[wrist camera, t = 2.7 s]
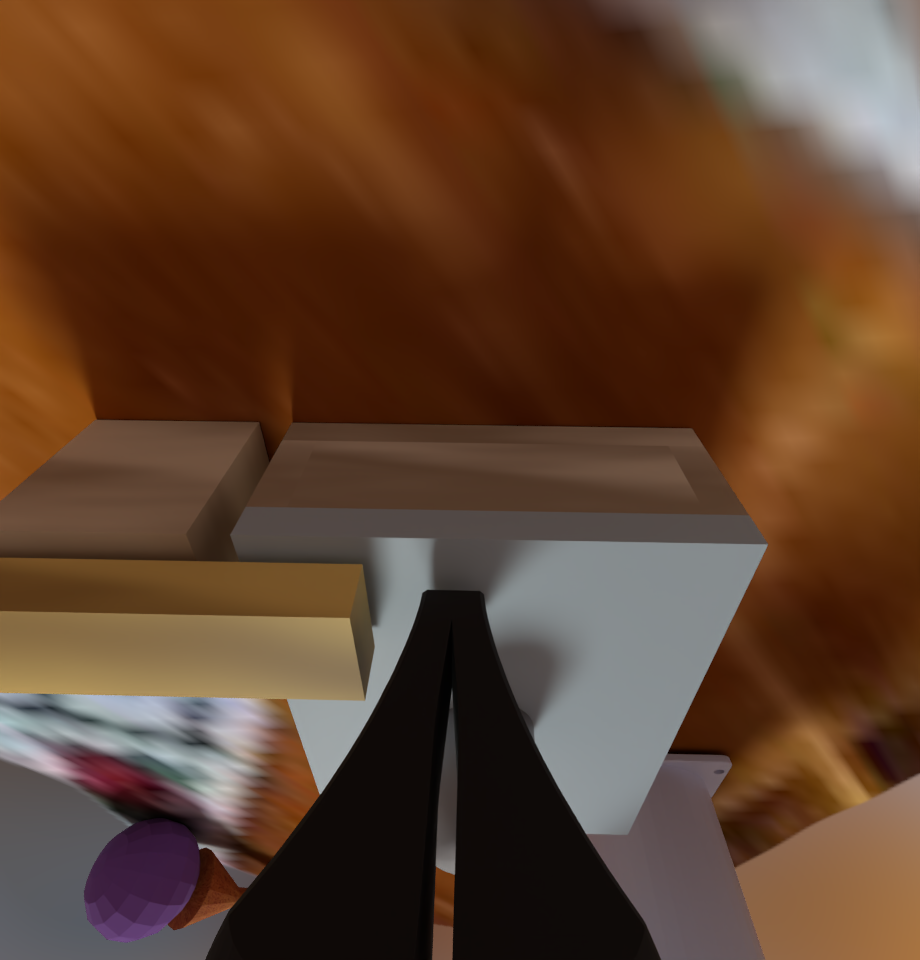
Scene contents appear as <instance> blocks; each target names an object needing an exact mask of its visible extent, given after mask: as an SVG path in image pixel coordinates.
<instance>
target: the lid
mask: <svg viewBox="0 0 920 960" xmlns="http://www.w3.org/2000/svg"><path fill="white" fill-rule="evenodd" d="M230 536H231V539H232V542H233V545H234V548H235V550H236V553H237V556H238V559H239V562H268V563H322V564H362V565H363V571H364V578H365V585H366V591H367V598H368V605H369V611H370V618H371V624H372V631H373V638H374V644H375V649H374V654H373V660H372V665H371V671H370V676H369V682H368V687H367V693H366V699H365V701H352V700H307V699H287V701H288V704H289V706H290V709H291V712H292V715H293V718H294V721H295V724H296V727H297V730H298V732H299V735H300V738H301V741H302V744H303V747H304V750H305V753H306V756H307V759H308V761H309V764H310V767H311V770H312V773H313V776H314V779H315V782H316V785H317V787H318V790H319V793H320V794H321V793H322V791H323V790H324V789H325V787H326V786H327V784H328V783H329V781H330V780H331V778H332V777H333V775H334V774H335V772H336V771H337V769H338V768H339V766H340V765H341V763H342V762H343V760H344V759H345V757H346V756H347V754H348V752H349V751H350V749H351V747H352V746H353V744H354V743H355V741H356V739H357V738H358V736H359V734H360V733H361V731H362V729H363V728H364V726H365V724H366V722H367V721H368V719H369V717H370V715H371V714H372V712H373V710H374V708H375V706H376V704H377V702H378V700H379V699H380V697H381V695H382V693H383V691H384V689H385V687H386V685H387V683H388V681H389V679H390V677H391V675H392V673H393V671H394V669H395V667H396V664H397V662H398V660H399V658H400V655H401V653H402V651H403V649H404V646H405V644H406V642H407V639H408V637H409V634H410V632H411V629H412V626H413V624H414V621H415V618H416V615H417V612H418V608H419V605H420V601H421V597H422V593H423V592H424V591H426V590H467V591H481V592H482V593H483V594H484V597H485V605H486V611H487V616H488V620H489V624H490V628H491V632H492V635H493V639H494V642H495V645H496V648H497V652H498V655H499V657H500V660H501V663H502V666H503V668H504V671H505V674H506V677H507V680H508V682H509V685H510V687H511V690H512V692H513V695H514V697H515V699H516V702H517V704H518V706H519V709H520V711H521V713H522V716H523V718H524V720H525V722H526V724H527V727H528V729H529V731H530V733H531V735H532V737H533V739H534V741H535V743H536V745H537V747H538V749H539V751H540V753H541V755H542V757H543V759H544V761H545V763H546V765H547V767H548V769H549V770H550V772H551V774H552V776H553V778H554V780H555V782H556V784H557V785H558V787H559V789H560V791H561V792H562V794H563V796H564V797H565V799H566V801H567V802H568V804H569V806H570V808H571V809H572V811H573V813H574V814H575V816H576V818H577V819H578V821H579V823H580V824H581V826H582V828H583V830H584V831H585V833H586V834H610V835H628V833H629V831H630V829H631V827H632V825H633V823H634V821H635V819H636V817H637V815H638V813H639V811H640V809H641V806H642V804H643V802H644V800H645V798H646V796H647V794H648V792H649V790H650V788H651V786H652V784H653V782H654V780H655V778H656V775H657V773H658V771H659V769H660V767H661V765H662V763H663V761H664V759H665V757H666V755H667V753H668V751H669V749H670V747H671V744H672V742H673V740H674V738H675V736H676V734H677V732H678V730H679V728H680V726H681V724H682V722H683V720H684V718H685V715H686V713H687V711H688V709H689V707H690V705H691V703H692V701H693V699H694V697H695V695H696V693H697V691H698V689H699V687H700V684H701V682H702V680H703V678H704V676H705V674H706V672H707V670H708V668H709V666H710V664H711V662H712V660H713V658H714V656H715V653H716V651H717V649H718V647H719V645H720V643H721V641H722V639H723V637H724V635H725V633H726V631H727V629H728V627H729V624H730V622H731V620H732V618H733V616H734V614H735V612H736V610H737V608H738V606H739V604H740V602H741V600H742V598H743V596H744V593H745V591H746V589H747V587H748V585H749V583H750V581H751V579H752V577H753V575H754V573H755V571H756V569H757V567H758V565H759V562H760V560H761V558H762V556H763V554H764V552H765V550H766V548H767V546H768V543H767V542H766V540H765V539H764V537H763V536H762V534H761V533H760V531H759V530H758V528H757V527H756V525H755V524H754V522H753V521H752V519H751V517H750V516H749V515H703V514H644V513H585V512H526V511H467V510H408V509H348V508H289V507H245V509H244V511H243V513H242V514H241V516H240V518H239V520H238V522H237V524H236V525H235V527H234V529H233V531H232V533H231V534H230ZM456 814H457V768H456V750H455V733H454V715H453V697H452V693H451V701H450V710H449V718H448V726H447V734H446V742H445V750H444V759H443V767H442V775H441V783H440V793H439V805H438V824H437V848H436V866H437V867H438V868H440V869H441V870H443V871H446V872H448V873H451V874H455V851H456Z"/></svg>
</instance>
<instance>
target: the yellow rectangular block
mask: <svg viewBox="0 0 920 960" xmlns="http://www.w3.org/2000/svg"><path fill="white" fill-rule="evenodd" d="M374 649H375V644H374V638H373V631H372V624H371V618H370V611H369V605H368V598H367V591H366V585H365V578H364V571H363V565H362V564H322V563H268V562H214V561H159V560H105V559H51V558H0V693H39V694H84V695H128V696H173V697H218V698H262V699H307V700H352V701H365V699H366V693H367V687H368V682H369V676H370V671H371V665H372V660H373V654H374Z"/></svg>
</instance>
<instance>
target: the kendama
mask: <svg viewBox="0 0 920 960" xmlns="http://www.w3.org/2000/svg"><path fill="white" fill-rule="evenodd" d="M246 889H247V888H240V887H238V886H237V885H236V883H235V882H234V880H233V879H232V878H231V876H230V875H229V874H228V872H227V871H226V870H225V868H224V867H223V865H222V864H221V863H220V861H219V860H218V859H217V857H216V856H215V854H214V853H213V852H212V851H211V850H210V849H208V848H203V849H200V850H199V847H198V844H197V841H196V838H195V837H194V835H193V834H192V833H191V832H190V830H189V829H188V828H187V827H186V826H185V825H183V824H181V823H178V822H175V821H172V820H169V819H165V818H154V819H149V820H144V821H141V822H138V823H135V824H133V825H132V826H130V827H128V828H127V829H125V830H124V831H122V832H121V833H119V834H118V835H117V836H115V837H114V838H113V839H112V840H111V841H110V842H109V843H108V844H107V845H106V846H105V848H104V849H103V850H102V852H101V853H100V855H99V856H98V858H97V860H96V861H95V863H94V865H93V867H92V869H91V872H90V874H89V876H88V879H87V882H86V886H85V890H84V900H85V907H86V913H87V919H88V921H89V922H90V923H91V924H92V925H93V926H94V927H95V928H96V929H97V930H98V931H99V932H100V933H101V934H102V935H103V936H104V937H105V938H106V939H107V940H113V941H120V942H130V941H134V940H139V939H141V938H144V937H147V936H149V935H152V934H155V933H158V932H159V931H160V930H161V929H162V928H163V927H164V926H166V925H167V924H168V925H169V926H170V927H171V928H172V929H173V930H177V929H181V928H184V927H186V926H188V925H191V924H193V923H195V922H198V921H201V920H203V919H205V918H208V917H210V916H213V915H215V914H217V913H220V912H222V911H224V910H227V909H229V908H232V906H233V905H234V904H235V903H236V902H237V900H238V899H239V898H240V897H241V896H242V894H243V893H244V892H245V891H246Z"/></svg>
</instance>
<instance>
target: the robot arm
mask: <svg viewBox="0 0 920 960" xmlns="http://www.w3.org/2000/svg"><path fill="white" fill-rule="evenodd" d="M451 693H452V697H453V715H454V733H455V750H456V768H457V814H456V851H455V888H454V924H453V960H765V957H764V954H763V952H762V949H761V946H760V943H759V940H758V937H757V934H756V931H755V928H754V925H753V922H752V919H751V916H750V913H749V910H748V907H747V904H746V901H745V898H744V895H743V892H742V889H741V886H740V883H739V880H738V878H737V874H736V871H735V868H734V865H733V862H732V859H731V857H730V854H729V851H728V848H727V845H726V842H725V839H724V836H723V833H722V830H721V827H720V824H719V821H718V818H717V815H716V812H715V809H714V806H713V803H712V800H711V798H712V796H713V794H714V793H715V791H716V790H717V788H718V787H719V785H720V784H721V782H722V781H723V779H724V778H725V776H726V775H727V773H728V771H729V770H730V768H731V767H732V763H731V761H730V758H729V757H727V756H725V755H702V754H667V755H666V757H665V759H664V761H663V763H662V765H661V767H660V769H659V771H658V773H657V775H656V778H655V780H654V782H653V784H652V786H651V788H650V790H649V792H648V794H647V796H646V798H645V800H644V802H643V804H642V806H641V809H640V811H639V813H638V815H637V817H636V819H635V821H634V823H633V825H632V827H631V829H630V831H629V833H628V835H610V834H586V833H585V831H584V830H583V828H582V826H581V824H580V823H579V821H578V819H577V818H576V816H575V814H574V813H573V811H572V809H571V808H570V806H569V804H568V802H567V801H566V799H565V797H564V796H563V794H562V792H561V791H560V789H559V787H558V785H557V784H556V782H555V780H554V778H553V776H552V774H551V772H550V770H549V769H548V767H547V765H546V763H545V761H544V759H543V757H542V755H541V753H540V751H539V749H538V747H537V745H536V743H535V741H534V739H533V737H532V735H531V733H530V731H529V729H528V727H527V724H526V722H525V720H524V718H523V716H522V713H521V711H520V709H519V706H518V704H517V702H516V699H515V697H514V695H513V692H512V690H511V687H510V685H509V682H508V680H507V677H506V674H505V671H504V668H503V666H502V663H501V660H500V657H499V655H498V652H497V648H496V645H495V642H494V639H493V635H492V632H491V628H490V624H489V620H488V616H487V611H486V605H485V597H484V594H483V593H482V592H481V591H467V590H426V591H424V592H423V593H422V597H421V601H420V605H419V608H418V612H417V615H416V618H415V621H414V624H413V626H412V629H411V632H410V634H409V637H408V639H407V642H406V644H405V646H404V649H403V651H402V653H401V655H400V658H399V660H398V662H397V664H396V667H395V669H394V671H393V673H392V675H391V677H390V679H389V681H388V683H387V685H386V687H385V689H384V691H383V693H382V695H381V697H380V699H379V700H378V702H377V704H376V706H375V708H374V710H373V712H372V714H371V715H370V717H369V719H368V721H367V722H366V724H365V726H364V728H363V729H362V731H361V733H360V734H359V736H358V738H357V739H356V741H355V743H354V744H353V746H352V747H351V749H350V751H349V752H348V754H347V756H346V757H345V759H344V760H343V762H342V763H341V765H340V766H339V768H338V769H337V771H336V772H335V774H334V775H333V777H332V778H331V780H330V781H329V783H328V784H327V786H326V787H325V789H324V790H323V791H322V793H321V794H320V796H319V797H318V799H317V800H316V801H315V803H314V804H313V806H312V807H311V808H310V810H309V811H308V812H307V814H306V815H305V816H304V818H303V819H302V820H301V822H300V823H299V824H298V826H297V827H296V828H295V830H294V831H293V832H292V834H291V835H290V836H289V838H288V839H287V840H286V842H285V843H284V844H283V846H282V847H281V848H280V849H279V851H278V852H277V853H276V854H275V856H274V857H273V858H272V859H271V861H270V862H269V863H268V864H267V865H266V867H265V868H264V869H263V870H262V871H261V873H260V874H259V875H258V876H257V877H256V879H255V880H254V881H253V882H252V884H251V885H250V886H249V887H248V888H247V889H246V891H245V892H244V893H243V894H242V896H241V897H240V898H239V899H238V900H237V902H236V903H235V904H234V905H233V906H232V908H231V909H230V910H229V912H228V914H227V916H226V918H225V919H224V921H223V923H222V925H221V927H220V929H219V931H218V933H217V935H216V937H215V939H214V941H213V944H212V946H211V948H210V950H209V952H208V955H207V957H206V960H432V948H433V947H432V946H433V922H434V897H435V872H436V848H437V824H438V805H439V793H440V783H441V775H442V767H443V759H444V750H445V742H446V734H447V726H448V718H449V710H450V701H451Z"/></svg>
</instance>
